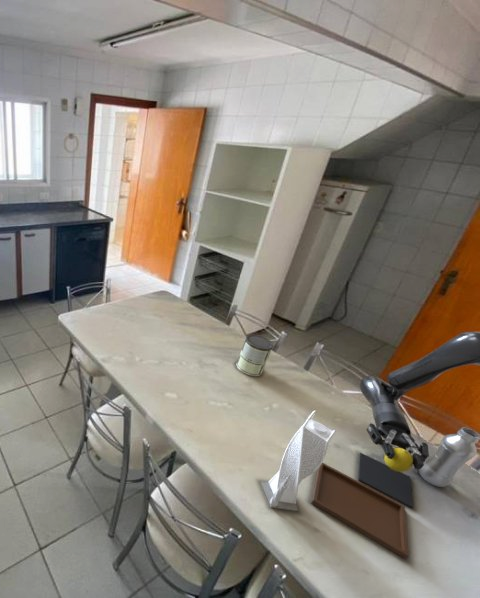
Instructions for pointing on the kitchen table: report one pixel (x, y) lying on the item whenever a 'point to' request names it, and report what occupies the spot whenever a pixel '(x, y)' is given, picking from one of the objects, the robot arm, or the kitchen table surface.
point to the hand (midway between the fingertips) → (405, 461)
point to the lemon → (400, 460)
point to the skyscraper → (298, 463)
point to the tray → (362, 509)
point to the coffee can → (254, 355)
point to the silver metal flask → (450, 457)
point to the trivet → (385, 480)
